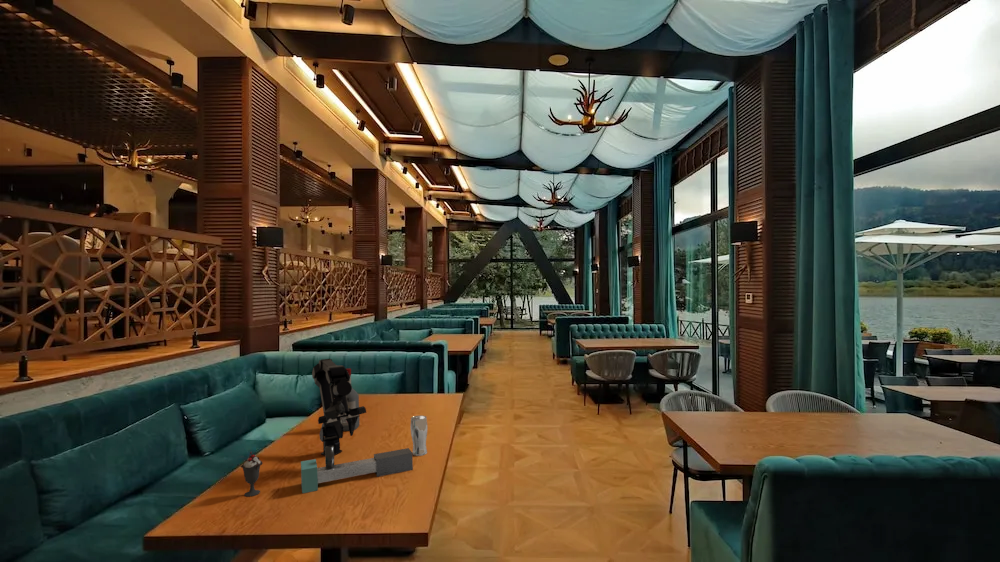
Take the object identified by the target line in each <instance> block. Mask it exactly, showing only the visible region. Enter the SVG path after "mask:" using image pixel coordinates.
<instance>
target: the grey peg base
mask: <svg viewBox="0 0 1000 562" xmlns="http://www.w3.org/2000/svg"><path fill="white" fill-rule="evenodd" d="M324 457H325V458H324V459H325V463H324V464H325V466H321V467H317V476H318V484H321V483H327V482H331V481H332V482H333V481H337V480H343V479H347V478H353V477H358V476H363V475H368V474H373V473H375V472H377V467H376V459H375V458H374V457H371V458H366V459H359V460H354V461H349V462H348V461H347V462H343V463H338V464H335V455H334V446H333V445H329V446H326V447H325V455H324Z"/></svg>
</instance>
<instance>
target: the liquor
mask: <svg viewBox="0 0 1000 562" xmlns="http://www.w3.org/2000/svg"><path fill="white" fill-rule="evenodd" d="M346 370H347V371H348V373H349V376H350V381H348V382H349V383H350V384H351V386H352V385H353V384H352V368H346ZM346 396H347V398H349V401H347V402H348V408H350V409H354V408H358V407H360V400H359V398H360V395H359V392H357V391H356V390H355V389H354V388H353V386H352V390H351V392H350V393H349V394H348V395H346ZM343 414H346V413H343ZM339 415H340V414H339ZM347 418H349V417H348V416H346V417H341V418H340V421H341V424H342V425H343V427H344V430H343V432H349V426H348V422H347V420H346V419H347ZM359 426H360V417H358V419H357V421H356V424H355V428H354V431H355V430H357V429H358V428H359Z"/></svg>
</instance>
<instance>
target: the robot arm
mask: <svg viewBox="0 0 1000 562" xmlns="http://www.w3.org/2000/svg"><path fill="white" fill-rule="evenodd" d="M346 369H347V368H346V367H345V366H344V365H337V364H336V363H335V362H333V359H332V358H322V359H320V360H318V363H317V364H316V365H314V366H313V368H312V372H311V375H312V376H311V377H312V379H313V381H314V384H315V385H316V386H317V387H318V388H319V392H320V399H321V405H322V411H323V415H322V416H321V415H320V416H318V420H317V424H318V425H321V428H320V430H319V440H320V441H321V442H322V444H323V446H322V448H323V449H322V450H323V452H321V453H320V455H322V456H325V447H326V446H329V445H333V446H334V456H336V455H338V454H340V453H342V452H343V449H341V442H340V439H343V437H344V431H343V430H344V427H343V425H342V424H341V421H340V418H341V417H346V416H348V417H349V418H347V419H346V420H347V422H348V426H349V431H348V432H349V436H351V437H352V436H353V435H354V432H355V430H354V428H355V424H356V421H357V419H358V417H359V418H360V415H363V414H366V413H367V408H366V407H365V406H359V407H358V408H354V409H350V408H348V402H347V401H349V398H347V396H346V395H348V394H349V393H350V392H351V390H352V388H353V386H351V385H352V383H351V384H350V383H349V382H348V381H350V376H349V373H348V371H347V370H346ZM343 413H346V414H343ZM339 414H340V415H339Z"/></svg>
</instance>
